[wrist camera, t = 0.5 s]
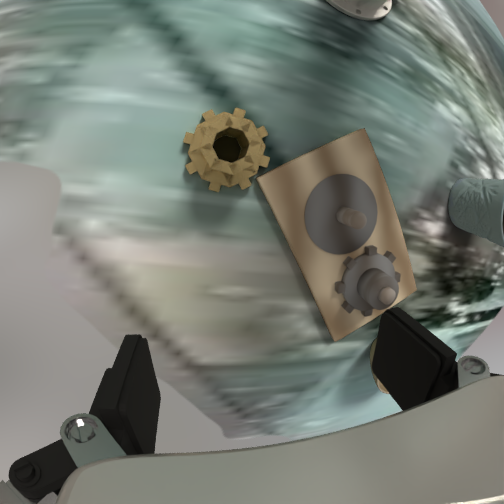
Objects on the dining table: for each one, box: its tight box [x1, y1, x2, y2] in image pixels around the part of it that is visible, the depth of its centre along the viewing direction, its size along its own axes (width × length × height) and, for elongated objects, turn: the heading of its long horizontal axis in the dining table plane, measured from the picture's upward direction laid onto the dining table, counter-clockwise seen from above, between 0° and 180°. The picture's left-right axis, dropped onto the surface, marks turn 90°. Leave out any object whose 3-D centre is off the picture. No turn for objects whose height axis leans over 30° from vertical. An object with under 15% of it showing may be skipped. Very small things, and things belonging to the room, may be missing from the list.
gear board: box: [256, 128, 417, 342], centre depth 34 cm, size 15×25×7 cm, turn 27°
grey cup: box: [448, 178, 504, 247], centre depth 34 cm, size 10×10×12 cm
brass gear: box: [183, 108, 270, 192], centre depth 29 cm, size 10×10×7 cm
